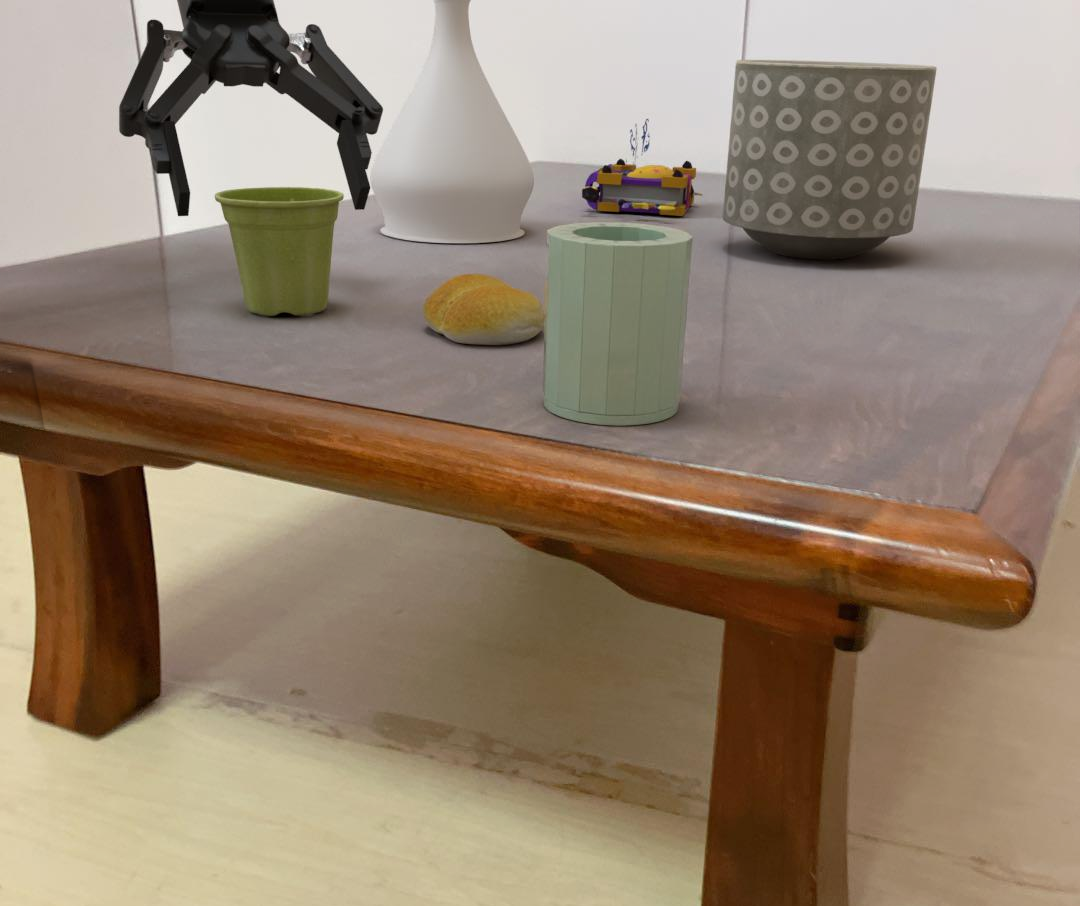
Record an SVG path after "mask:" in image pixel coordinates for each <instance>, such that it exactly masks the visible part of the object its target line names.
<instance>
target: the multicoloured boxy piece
mask: <svg viewBox="0 0 1080 906" xmlns="http://www.w3.org/2000/svg"><path fill="white" fill-rule="evenodd" d="M648 123H649V118H646V119H645V121H644V125H643V126H642V130H643V131H642V132H643V135H642V136H641V137H640V138H641V140H642V147H641V155H640V156H643V153H646V152H647V151H648V150H649V147H650V140H651V139H650V138H651V137H650V136H651V135H650V133H647V132H648ZM635 128H637V124H635ZM633 133H634V132H633V129H632V128H630V130H629V134H631V135H630V140H629V142H630V149H631V151H632V157H634V161H632V164H629V163H628V162H627V159H625V160H624V159H622V158H619V159H618V160H617V161H616V163H609V164H604V165H603V166H602V167H600V168H598V169H597V170H595V171H593V172H592V173H590V175H588V177H587V178H586V180H585V184H584V187H583V188H582V189H581V198H582V199H584V200H585V201H586V202H587V205H588V206H589V207H590V208H592V209H594V210H597V211H598V212H614V213H615V212H616V213H619V212H632V213H633V212H634V213H650V214H659V215H663V216H678V217H679V216H680V217H682V216H684V215H685V214H686V211H688V210H689V208H690V206H692V205H693V204H694V202H695V196H701V197H703V193H700V192H695V190H694V187H693V181H692V180H695V178H696V177H697V167H693V165H692V162H691V161H689V160H685V161H684V163H682V165H681V166H673V167H672V168H670V167H669V166H665V165H661V164H649V165H648V164H647V165H643V166H640V167H637V164H635V162H636V159H637V156H635V155H637V151H638V147H639V146H638V145H639V144H637V139H638V130H635V136H634V134H633ZM646 137H648V140H646ZM632 141H633V142H635V147H634V145H633V143H632ZM645 143H647V144H645ZM627 163H628V164H627ZM594 183H596V184H597V185H598V186H597V187H596V186H594Z"/></svg>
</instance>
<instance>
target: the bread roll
mask: <svg viewBox="0 0 1080 906" xmlns="http://www.w3.org/2000/svg"><path fill="white" fill-rule="evenodd" d="M422 310H423V311H422V312H423V316H424V319H425V321H426V323H427V325H428V327H429V328H430V329H431V330H433V331H434V332H435V333H438V334H440V335H444V336H445V338H447V339H448V340H451V341H453V342H454V343H458V344H467V345H480V346H481V345H483V346H504V345H506V346H507V345H514V344H515V345H516V344H519V343H523V342H527V341H529V340H530V339H532V338H534V337H536V336H537V335H538V334H539V333H541V331H542V330H544V326H545V310H544V308H543V305H542V303H541V302H540V300H539V298H538V297H537V296H536V295H534V294H532V293H530V292H528V291H524V290H522V289H518V288H515V287H512V286H511V285H510V284H508V283H507V282H505V281H502V280H501V279H499V278H496V277H495V276H494V277H493V276H490V275H487V274H483V273H465V274H460V275H456V276H454V277H451V278H449V279H448V280H446V281H445V282H443V283H441V284H440V285H439V286H438V287H437V288H436V289H434V290H433V291H432V292H431V293H430V294H429V296H428V297H427V298H426V300H425V301H424V305H423V309H422Z"/></svg>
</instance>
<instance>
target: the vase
mask: <svg viewBox="0 0 1080 906" xmlns="http://www.w3.org/2000/svg"><path fill="white" fill-rule="evenodd" d="M471 1H472V0H433V3H434V9H435V13H434V14H435V17H434V25H433V33H432V38H431V43H430V47H429V50H428V53H427V54H426V55H427V56H426V58H425V60H424V63H423V65H422V66H421V68H420V69H421V70H420V72H419V74H418V76H417V77H416V80H415V81H414V84H413V86H412V87H411V89H410V91H409V93H408V95H407V97H406V99H405V101H404V103H403V104H402V106H401V108H400V109H399V112H398V113H397V115H396V117H395V119H394V121H393V123H392V124H391V126H390V128H389V130H388V131H387V134H386V135H385V137H384V139H383V141H382V143H381V145H380V147H379V148H378V151H377V153H376V155H375V158H374V160H373V163H372V165H371V168H370V173H369V183H370V188H371V189H372V193H373V195H374V196H375V199H376V200H377V202H378V204H379V207H380V209H381V210H382V214H383V219H384V226H382V227H381V228H380V229H379V232H380V233H381V234H383V235H384V236H387V237H390V238H394V239H399V240H405V241H412V242H420V243H433V244H434V243H435V244H436V243H437V244H481V243H482V244H483V243H495V242H497V243H498V242H505V241H510V240H514V239H518V238H521V237H522V236H524V235H525V231H524V230H523V229H522V228H521V220H522V215H523V213H524V210H525V207H526V205H527V204H528V201H529V199H530V197H531V195H532V193H533V190H534V185H535V177H534V176H535V175H534V172H533V168H532V165H531V163H530V160H529V158H528V156H527V154H526V152H525V149H524V147H523V146H522V144H521V142H520V140H519V138H518V135H517V134H516V132H515V130H514V129H513V127H512V125H511V123H510V121H509V119H508V118H507V115H506V114H505V112H504V110H503V108H502V105H501V104H500V103H499V101H498V98H497V97H496V95H495V93H494V91H493V89H492V87H491V85H490V82H489V81H488V79H487V77H486V75H485V73H484V71H483V69H482V66H481V64H480V62H479V59H478V57H477V54H476V52H475V48H474V44H473V41H472V35H471V28H470V19H469V16H470V15H469V9H470V8H469V7H470V3H471Z"/></svg>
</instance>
